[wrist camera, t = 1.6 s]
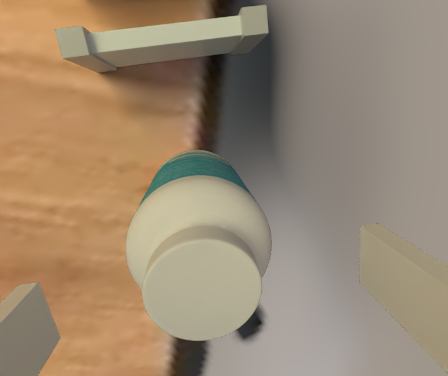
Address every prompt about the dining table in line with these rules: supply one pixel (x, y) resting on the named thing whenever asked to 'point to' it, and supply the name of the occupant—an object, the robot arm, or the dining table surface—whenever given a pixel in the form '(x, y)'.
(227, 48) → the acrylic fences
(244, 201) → the pill bottle
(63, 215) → the dining table surface
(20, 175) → the dining table surface
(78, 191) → the dining table surface
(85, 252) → the dining table surface
